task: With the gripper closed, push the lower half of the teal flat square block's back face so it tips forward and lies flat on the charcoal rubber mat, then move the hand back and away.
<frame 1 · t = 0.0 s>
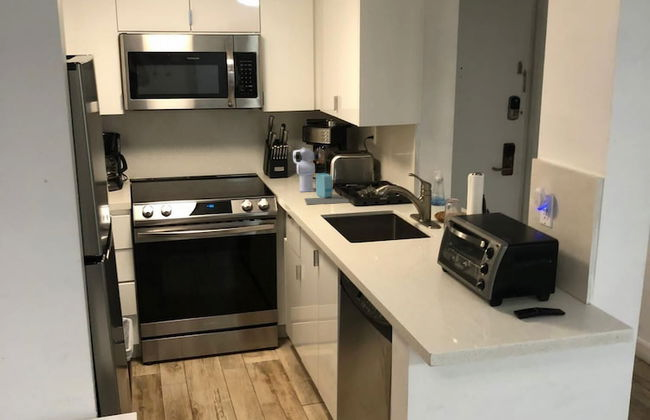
hand: (308, 157, 351), 22 cm above the worktop, tool horizontal, fingers open, 7 cm apart
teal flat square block: (324, 196, 357), on the worktop, touching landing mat
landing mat: (326, 200, 347), on the worktop
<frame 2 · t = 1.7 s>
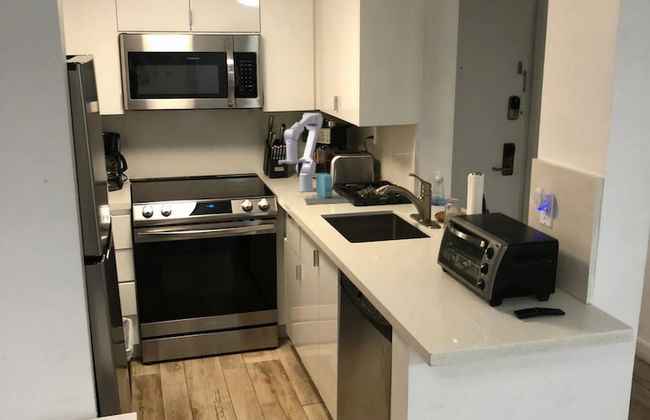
hand: (292, 176, 359), 10 cm above the worktop, tool pointing down, fingers open, 6 cm apart
nothing on the worktop moved.
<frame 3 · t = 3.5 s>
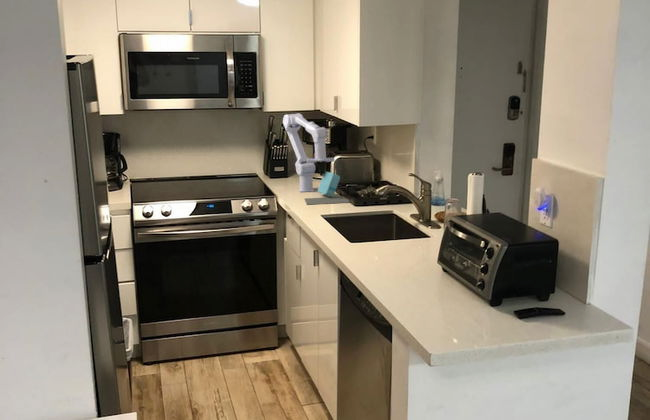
hand: (321, 175, 360), 10 cm above the worktop, tool pointing down, fingers closed
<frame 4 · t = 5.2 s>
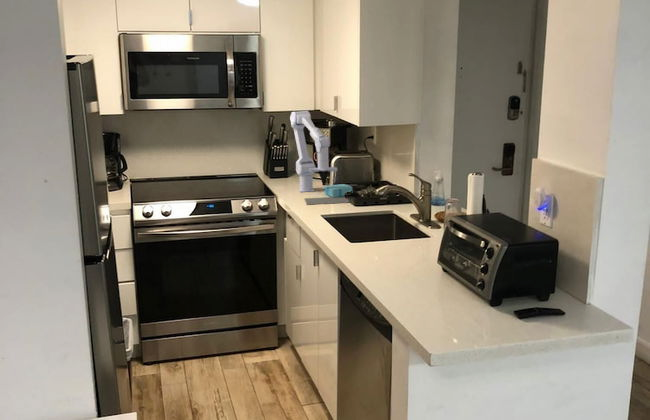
hand: (323, 185, 358), 6 cm above the worktop, tool pointing down, fingers closed
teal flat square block: (328, 191, 357), point 2 cm above the worktop, touching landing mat
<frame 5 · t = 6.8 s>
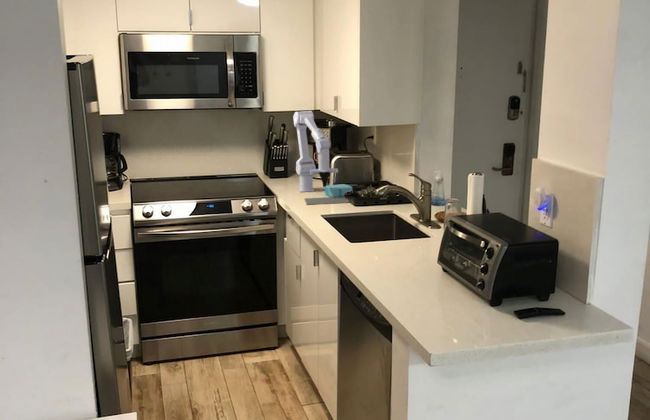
hand: (324, 186, 354), 6 cm above the worktop, tool pointing down, fingers closed
nothing on the worktop moved.
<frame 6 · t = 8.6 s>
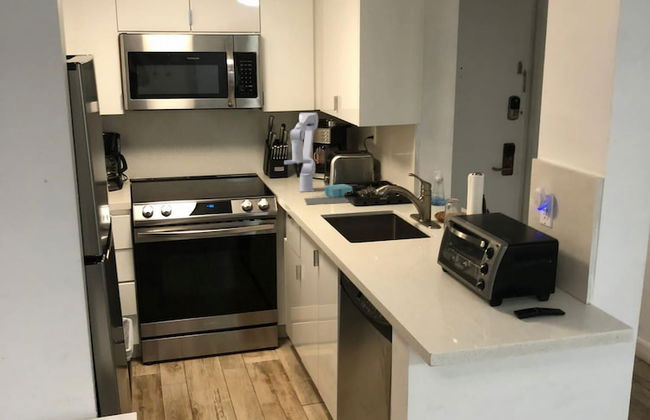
hand: (298, 177, 357), 10 cm above the worktop, tool pointing down, fingers closed
nothing on the worktop moved.
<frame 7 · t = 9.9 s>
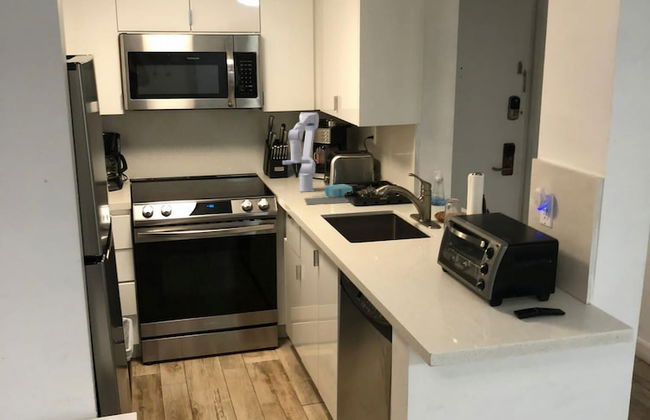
hand: (296, 177, 357), 10 cm above the worktop, tool pointing down, fingers closed
nothing on the worktop moved.
at the end: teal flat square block tilted 90°; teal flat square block inside the target area (5.6 cm from its centre), point 2.5 cm above the worktop; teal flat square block touching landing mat, worktop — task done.
